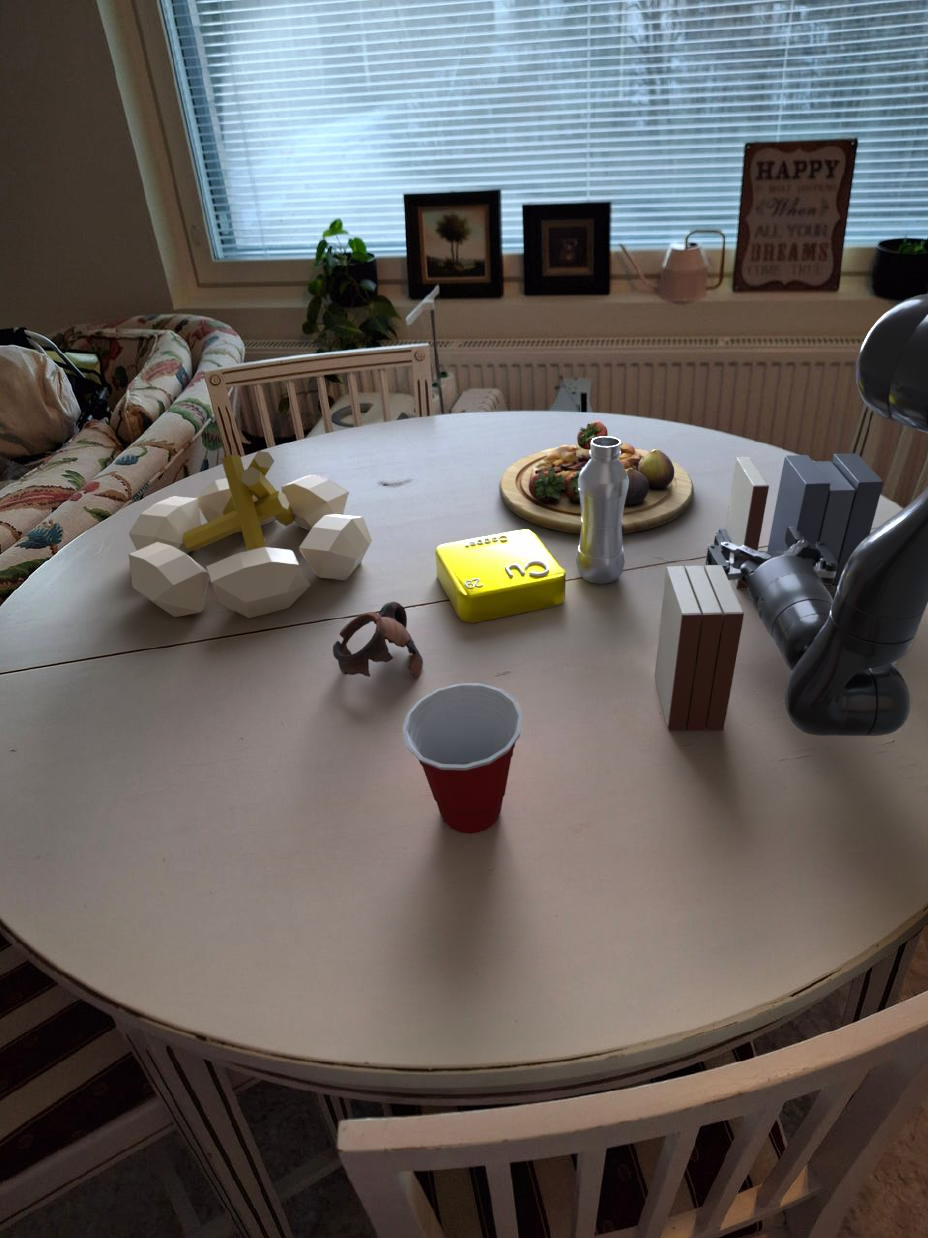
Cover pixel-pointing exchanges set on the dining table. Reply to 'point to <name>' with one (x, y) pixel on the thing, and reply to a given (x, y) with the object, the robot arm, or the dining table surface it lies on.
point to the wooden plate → (552, 493)
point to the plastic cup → (465, 750)
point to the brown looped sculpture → (377, 641)
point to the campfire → (260, 571)
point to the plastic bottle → (602, 512)
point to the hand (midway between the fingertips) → (754, 534)
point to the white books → (697, 647)
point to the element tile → (499, 575)
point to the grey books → (826, 504)
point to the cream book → (746, 507)
